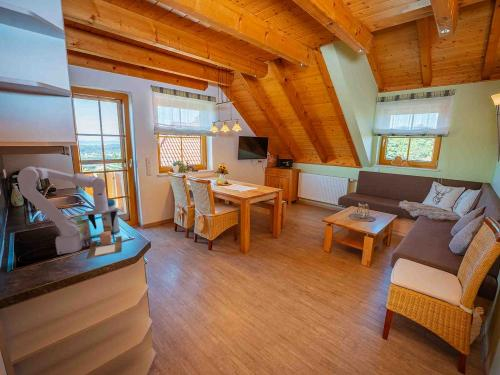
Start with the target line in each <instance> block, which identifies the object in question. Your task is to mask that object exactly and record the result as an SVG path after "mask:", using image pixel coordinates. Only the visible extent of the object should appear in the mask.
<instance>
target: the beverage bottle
mask: <svg viewBox="0 0 500 375" xmlns="http://www.w3.org/2000/svg"><path fill="white" fill-rule="evenodd" d="M107 202H108V208H116V206H115V205H116V201H115V199H113V198H107ZM100 215H101V217H100V218H101V221H102V228H103V232H106V231H111V236H115V235H119V234H120V233H121V229H120V224H119V214H118V212H116V216H115V219H114V226H112V219H111V213H104V214H100Z"/></svg>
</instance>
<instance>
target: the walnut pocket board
mask: <svg viewBox="0 0 500 375" xmlns="http://www.w3.org/2000/svg"><path fill="white" fill-rule="evenodd" d="M112 239H115V242H113V243H112V242H111V243H110V244H104V245H101V244H100V245H98V242H101V241H100V239H97V240H92V241H91V243H90V245H89V250H88V252H87V256H86V260H90V259H94V258H98V257H104V256H109V255H114V254H119V253H122V252H123V250H122V249H123V248H122V245H123V244H122V243H123V241H122V239H123V238H122V235H119V236H114V237H113V236H112ZM114 244H115V252H112V253H107V254H102V255H98V256H94V255H95V251H96V248H98V247H104V246H109V245H114ZM97 245H98V246H97Z"/></svg>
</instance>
